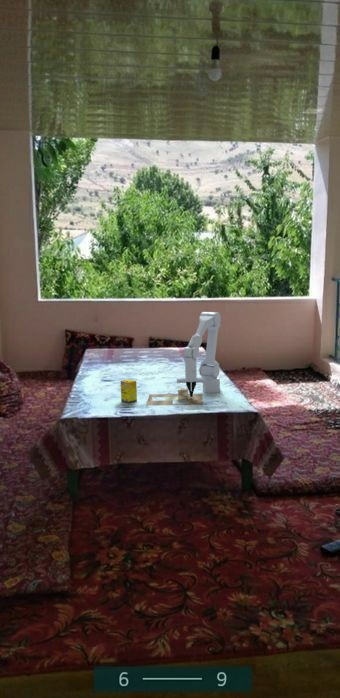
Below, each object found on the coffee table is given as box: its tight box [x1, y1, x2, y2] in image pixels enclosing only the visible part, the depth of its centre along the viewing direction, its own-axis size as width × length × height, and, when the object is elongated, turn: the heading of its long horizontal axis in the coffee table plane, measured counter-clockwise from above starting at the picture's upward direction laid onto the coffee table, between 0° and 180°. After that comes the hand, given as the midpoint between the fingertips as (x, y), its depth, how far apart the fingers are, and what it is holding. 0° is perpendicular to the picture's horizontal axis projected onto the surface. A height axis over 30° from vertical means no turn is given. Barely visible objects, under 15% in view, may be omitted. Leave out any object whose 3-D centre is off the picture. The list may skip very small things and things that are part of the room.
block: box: [177, 387, 189, 401], centre depth 268 cm, size 5×5×5 cm
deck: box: [145, 393, 204, 406], centre depth 267 cm, size 28×22×2 cm
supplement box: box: [120, 378, 138, 404], centre depth 270 cm, size 6×6×11 cm
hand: (191, 396), depth 268 cm, fingers closed
